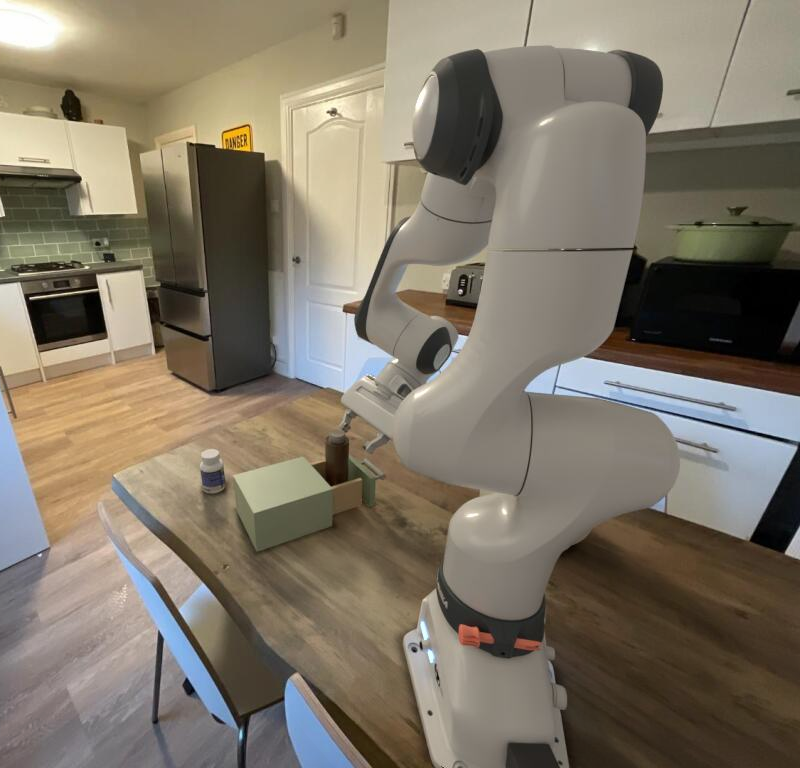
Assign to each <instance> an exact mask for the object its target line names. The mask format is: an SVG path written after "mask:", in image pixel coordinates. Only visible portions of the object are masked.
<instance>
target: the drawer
mask: <svg viewBox="0 0 800 768" xmlns="http://www.w3.org/2000/svg"><path fill="white" fill-rule="evenodd" d="M309 463H310V464H311V465H312V466H313V468H314V469H315V470H316V471H317V472H318V473H319V474H320V475H321V476H322V478H323V479H324V480H325V458H323V459H321V460H318V461H313V462H309ZM386 478H387V475H386V474H385V473H384V472H383V471H382V470H381V469H380V468H379V467H377V466H376V465H375V464H374V463H373V462H371V461H370V460H369V459H368V458H366V457H365V458H363V459H362V461H359V460H357V459H356V458H355V457H354V456H353V455H352V454H350V453H349V473H348V482H345V483H341V484H338V485H335V486H332V487H331V488H332V489H333V506H332V516H334V515H337V514H339V513H342V512H346V511H348V510H351V509H354V508H357V507H360V506H362V501H363V502H364V503H365V504H366V505H367V506H368V507H369V508H371V507H373V506H375V501H376V500H375V499H376V481H378V480H381V481H384V480H386Z"/></svg>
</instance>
